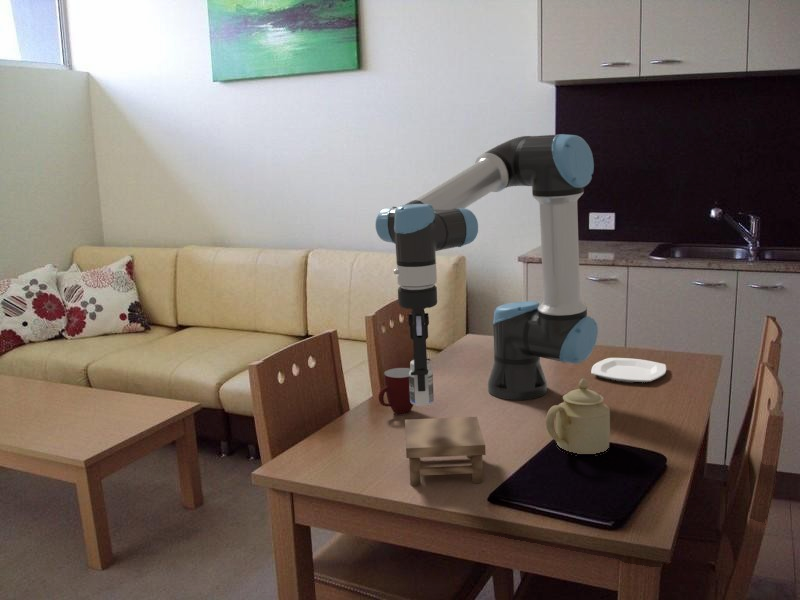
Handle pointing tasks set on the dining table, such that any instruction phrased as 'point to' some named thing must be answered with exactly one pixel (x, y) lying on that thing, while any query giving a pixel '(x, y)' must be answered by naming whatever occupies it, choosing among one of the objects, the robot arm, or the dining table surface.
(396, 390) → the mug
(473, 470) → the small wooden bench
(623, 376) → the plate
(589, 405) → the sugar bowl
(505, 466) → the dining table surface
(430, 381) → the pill bottle
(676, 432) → the dining table surface
